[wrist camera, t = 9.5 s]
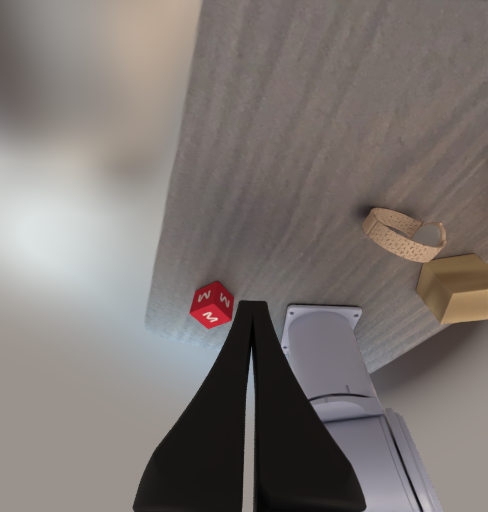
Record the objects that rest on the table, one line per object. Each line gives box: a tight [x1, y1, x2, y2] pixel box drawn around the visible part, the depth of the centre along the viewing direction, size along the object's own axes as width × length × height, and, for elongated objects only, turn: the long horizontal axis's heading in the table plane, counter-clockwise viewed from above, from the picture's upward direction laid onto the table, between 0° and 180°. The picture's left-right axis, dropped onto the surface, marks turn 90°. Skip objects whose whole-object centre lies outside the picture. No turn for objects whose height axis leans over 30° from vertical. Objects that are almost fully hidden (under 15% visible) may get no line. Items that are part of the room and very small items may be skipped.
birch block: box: [416, 254, 488, 324], centre depth 20 cm, size 4×4×4 cm
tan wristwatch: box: [362, 208, 447, 263], centre depth 16 cm, size 3×5×5 cm, turn 76°
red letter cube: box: [189, 281, 234, 329], centre depth 24 cm, size 3×3×3 cm
